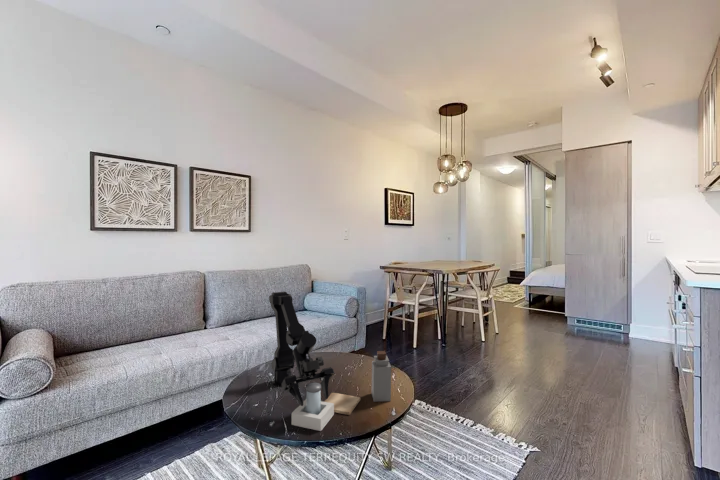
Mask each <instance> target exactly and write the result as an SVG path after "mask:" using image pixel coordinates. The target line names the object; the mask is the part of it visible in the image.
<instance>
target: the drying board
mask: <svg viewBox="0 0 720 480" xmlns="http://www.w3.org/2000/svg"><path fill="white" fill-rule="evenodd" d="M323 402H328V403H334V413H336V414H337V413H338V414H342V415H346V416H347V415H348V416H350V415H351V414H352V413H353V411H354V409H355V408H356V407H357V405H358V404H359V402H361V396H360V397H359V396H355V395H349V394H343V393H338V392H331V393H330V394H329V395H328V399H326V398H325V400H324V401H323Z"/></svg>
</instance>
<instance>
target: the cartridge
mask: <svg viewBox="0 0 720 480" xmlns="http://www.w3.org/2000/svg"><path fill="white" fill-rule="evenodd" d="M320 383H321V382H320ZM320 383H319V382H308V383H307V384H306V386H305V393H306V396H305V400H306V413H311V414H315V415H319V413H320V412H321V401H322V399H321V398H322V396H321V393H322V391H321V390H322V387H321V384H320Z"/></svg>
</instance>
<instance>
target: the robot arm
mask: <svg viewBox="0 0 720 480" xmlns="http://www.w3.org/2000/svg"><path fill="white" fill-rule="evenodd" d="M268 300H269V303H270V308H271V310H272V311H273V312H274V315H275V327H276V341H277V343H276V349H275V351H274V354H273V356H274V357H273V359H272V361H271V369H272V370H273V372H274V376H273V377H274V380H273V382H272V383H271V384H272V385H275V386H276V385H277V386H281V389H282V392H285V391H286V393H290V394H291V396H293V398H294V399H295V400H296V401H297V402H298V404H300V405H301V406H303V402H304V399H303V397H302V394H301V391H300V387H299V386H300V385H299V384H301V383H307V382H312V381H316V380H319V381H321V382H320V384H321V390H322V393H323V396H324V398H325V400H326V399H328V397H329V384H330V383H329V381H331V380H332V378H333V376H334V375H335V370H334V368H333V367H331V366H329V367H326V368H322V369H321V367H322V366H324V365H325V362H324V358H323V356H317V357H316V358H315V360H314V359H313V358H312V356H311V355H310V354H311V352H312V351H313V349H314V347H315V346H316V344H317V337H316V336H315V335H314V334H312V333H310V332H309V330H306V329H305V327H304V325H302V324H301V323H300V321H299V318H298V316H297V314H296V309H295V306H294V302H293V297H292V294H290V293H287V291H277V292H272V293H271V295H269V298H268ZM294 346H295V347H294ZM291 347H294V348H291ZM295 366H296V367H295ZM294 367H295V369H296V371H297V372H298V373H297V374H298V377H297V376H296V374H295V375H294V374H292V371H291V370H292V369H294ZM320 369H321V371H320V372H318V370H320ZM300 405H299V406H300Z"/></svg>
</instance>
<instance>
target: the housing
mask: <svg viewBox="0 0 720 480" xmlns="http://www.w3.org/2000/svg"><path fill="white" fill-rule="evenodd" d="M334 415H335V412H334V403H328V402H324V401H323V400H321V412H320V413H319V415H315V414H311V413H306V399H305V400H303V406H301V405H299V406H297V407H296V408H295V409H294V410H293V411H292V412H291V426H295V427H300V428H305V429H309V430H310V429H311V430H314V431H320V432H321V431H323V429H324V428H325V426H326V425H327V424H328V423H329V421H330V420H332V417H333V416H334Z"/></svg>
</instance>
